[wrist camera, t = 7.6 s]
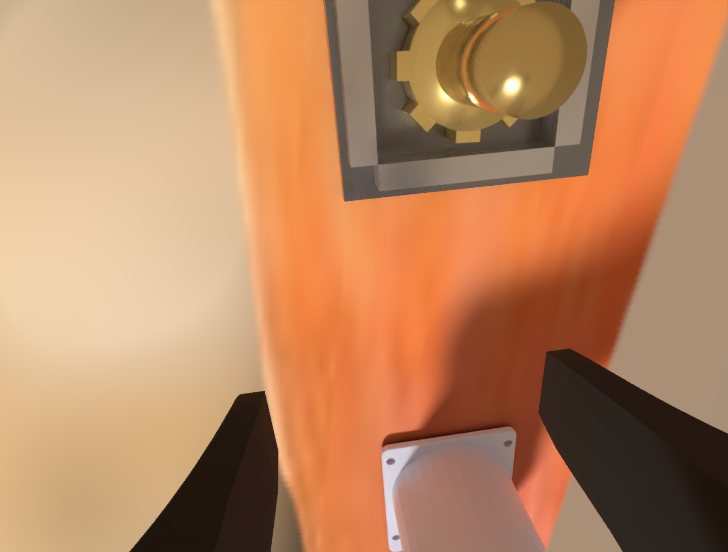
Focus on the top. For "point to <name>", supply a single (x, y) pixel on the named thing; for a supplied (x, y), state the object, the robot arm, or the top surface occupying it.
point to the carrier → (431, 149)
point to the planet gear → (487, 63)
